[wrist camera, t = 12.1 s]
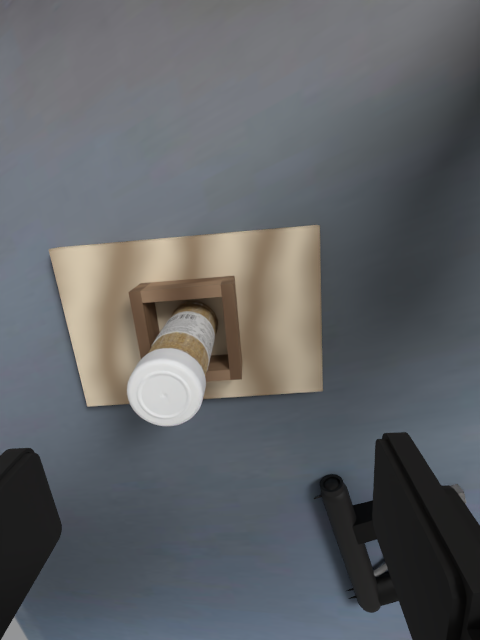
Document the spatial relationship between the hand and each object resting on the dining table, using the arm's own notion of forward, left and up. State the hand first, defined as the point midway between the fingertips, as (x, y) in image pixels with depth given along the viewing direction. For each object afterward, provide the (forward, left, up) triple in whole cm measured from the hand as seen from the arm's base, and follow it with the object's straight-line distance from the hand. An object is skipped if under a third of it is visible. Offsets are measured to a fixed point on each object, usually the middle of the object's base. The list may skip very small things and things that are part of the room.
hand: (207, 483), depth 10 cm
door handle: (-16, +31, -26) cm, 44 cm away
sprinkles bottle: (+4, +3, -24) cm, 25 cm away
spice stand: (+4, +3, -25) cm, 26 cm away
